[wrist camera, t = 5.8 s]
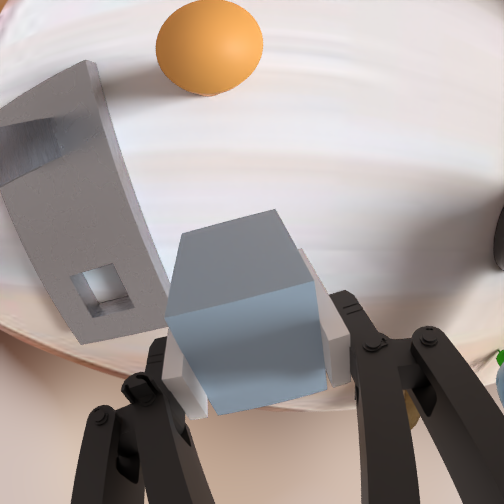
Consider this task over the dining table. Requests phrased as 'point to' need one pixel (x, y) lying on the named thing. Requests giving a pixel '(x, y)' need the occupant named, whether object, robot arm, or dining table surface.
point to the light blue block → (246, 314)
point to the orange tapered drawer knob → (209, 46)
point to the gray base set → (79, 205)
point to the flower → (500, 357)
